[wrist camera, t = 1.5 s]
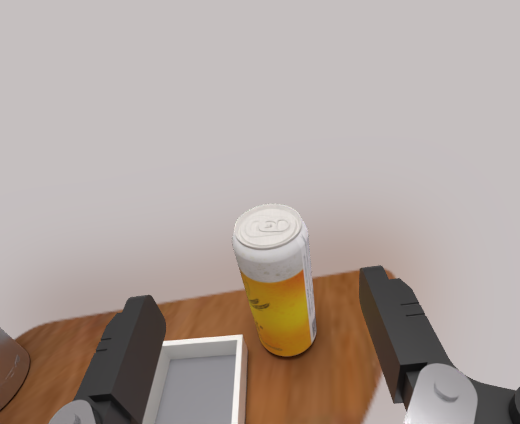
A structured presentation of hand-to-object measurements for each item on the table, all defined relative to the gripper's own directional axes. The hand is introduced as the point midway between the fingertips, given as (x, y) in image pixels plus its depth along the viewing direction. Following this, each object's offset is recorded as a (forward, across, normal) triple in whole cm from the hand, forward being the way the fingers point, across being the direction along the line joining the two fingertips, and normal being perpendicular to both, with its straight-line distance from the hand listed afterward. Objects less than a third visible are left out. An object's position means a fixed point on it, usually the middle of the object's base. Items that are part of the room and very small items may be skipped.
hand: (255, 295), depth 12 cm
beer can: (+12, 0, +20) cm, 23 cm away
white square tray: (+6, +9, +20) cm, 23 cm away
